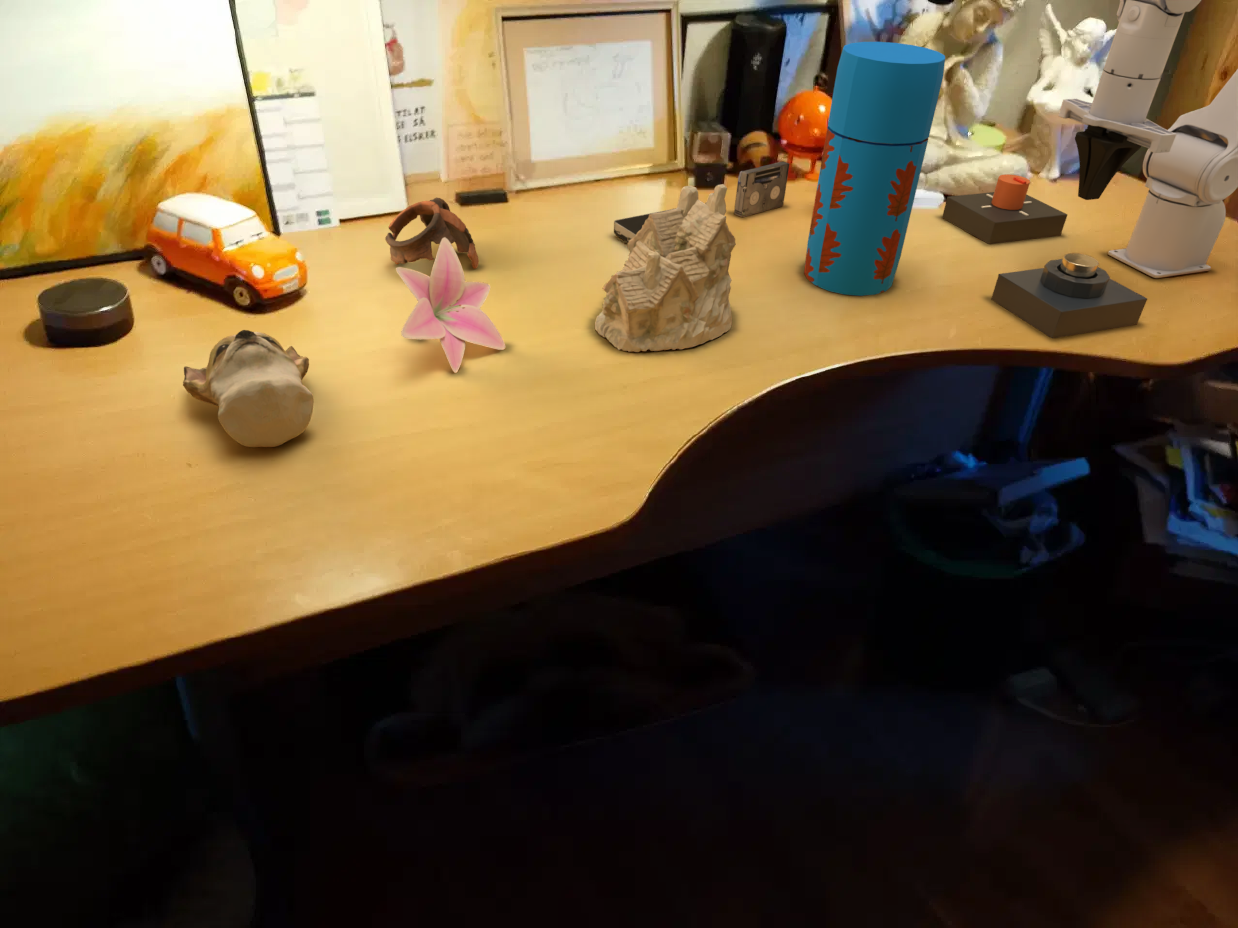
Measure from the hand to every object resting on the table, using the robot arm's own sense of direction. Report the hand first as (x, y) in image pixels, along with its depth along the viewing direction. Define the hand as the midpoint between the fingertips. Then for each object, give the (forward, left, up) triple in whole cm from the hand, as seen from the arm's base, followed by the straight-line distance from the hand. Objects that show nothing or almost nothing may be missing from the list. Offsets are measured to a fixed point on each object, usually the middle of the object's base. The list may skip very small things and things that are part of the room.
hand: (1088, 197), depth 105 cm
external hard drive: (+43, -24, -10) cm, 50 cm away
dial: (-4, -16, -7) cm, 18 cm away
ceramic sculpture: (+93, +5, -10) cm, 94 cm away
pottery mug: (+72, -24, -10) cm, 77 cm away
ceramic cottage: (+52, -4, -10) cm, 53 cm away
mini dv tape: (+26, -30, -10) cm, 41 cm away
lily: (+75, -2, -10) cm, 76 cm away
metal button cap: (+7, +8, -5) cm, 12 cm away
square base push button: (+7, +8, -10) cm, 15 cm away
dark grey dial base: (-4, -16, -10) cm, 19 cm away
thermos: (+26, -7, -10) cm, 29 cm away
